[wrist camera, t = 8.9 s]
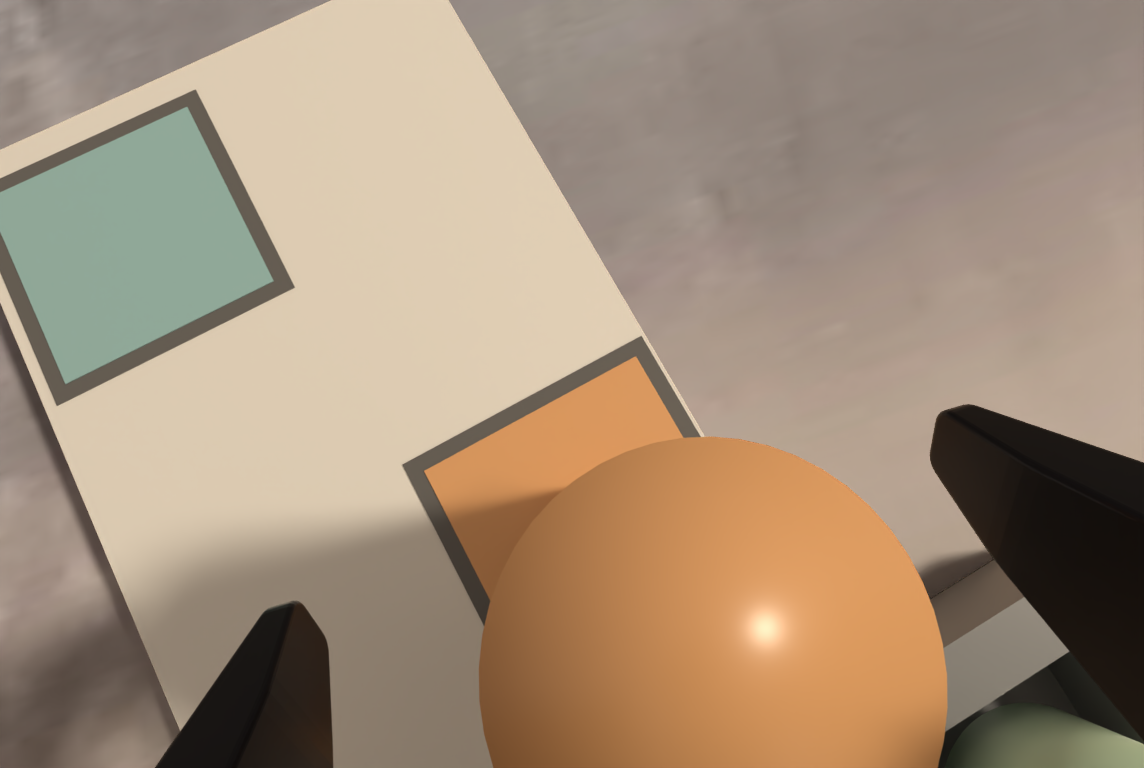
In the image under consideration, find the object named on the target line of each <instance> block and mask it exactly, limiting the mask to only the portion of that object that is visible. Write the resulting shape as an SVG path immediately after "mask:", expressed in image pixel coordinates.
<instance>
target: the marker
mask: <svg viewBox="0 0 1144 768" xmlns="http://www.w3.org/2000/svg"><path fill="white" fill-rule="evenodd" d="M479 702H480V709H481V716H482V723H483V730H484V736H485V739H486V743H487V747H488V750H489V754H490V758H491V761H492V765H493V768H938V764H939V759H940V755H941V751H942V747H943V743H944V736H945V727H946V717H947V708H948V706H947V671H946V664H945V657H944V650H943V643H942V639H941V635H940V631H939V627H938V623H937V620H936V616H935V612H934V609H933V607H932V604H931V602H930V599H929V597H928V594H927V592H926V589H925V586H924V584H923V582H922V580H921V578H920V576H919V574H918V572H917V570H916V569H915V567H914V565H913V563H912V561H911V559H910V557H909V556H908V554H907V552H906V551H905V549H904V548H903V547H902V545H901V544H900V542H899V541H898V540H897V538H896V537H895V535H894V534H893V532H892V531H891V530H890V528H889V527H888V526H887V525H886V524H885V523H884V522H883V520H882V519H881V518H880V517H879V516H878V515H877V514H876V513H875V511H874V510H873V509H872V508H871V507H870V506H869V505H868V504H867V503H866V502H864V501H863V500H862V499H861V498H860V497H859V496H858V495H856V494H855V493H854V492H853V491H852V490H851V489H850V488H848V487H847V486H846V485H845V484H843V483H842V482H840V481H839V480H837V479H836V478H834V477H833V476H831V475H830V474H828V473H827V472H826V471H824V470H823V469H821V468H819V467H817V466H815V465H813V464H811V463H809V462H807V461H805V460H803V459H801V458H799V457H797V456H795V455H793V454H790V453H787V452H784V451H782V450H779V449H776V448H773V447H771V446H768V445H763V444H759V443H754V442H750V441H745V440H741V439H732V438H720V437H690V438H678V439H673V440H667V441H661V442H656V443H652V444H648V445H645V446H642V447H639V448H636V449H633V450H630V451H626V452H624V453H622V454H620V455H618V456H616V457H614V458H611V459H609V460H607V461H605V462H603V463H601V464H599V465H597V466H596V467H594V468H593V469H591V470H590V471H588V472H587V473H585V474H584V475H582V476H580V477H579V478H577V479H576V480H574V481H573V482H572V483H571V484H570V485H569V486H567V487H566V488H565V489H564V490H563V491H562V492H560V493H559V494H558V495H557V496H556V497H554V498H553V499H552V500H551V501H550V502H549V504H548V505H547V506H546V507H545V508H544V509H543V510H542V511H541V512H540V514H539V515H538V516H537V517H536V518H535V519H534V520H533V521H532V523H531V524H530V526H529V527H528V528H527V530H526V531H525V533H524V534H523V536H522V537H521V538H520V540H519V541H518V543H517V544H516V546H515V547H514V549H513V551H512V553H511V555H510V557H509V559H508V561H507V563H506V565H505V567H504V568H503V570H502V572H501V574H500V577H499V580H498V582H497V585H496V588H495V590H494V593H493V596H492V599H491V601H490V604H489V608H488V613H487V617H486V621H485V625H484V630H483V634H482V642H481V651H480V661H479Z"/></svg>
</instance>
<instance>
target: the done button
mask: <svg viewBox="0 0 1144 768" xmlns="http://www.w3.org/2000/svg"><path fill="white" fill-rule="evenodd" d="M945 768H1144V744H1142V743H1140V742H1138V741H1135V740H1133V739H1130V738H1128V737H1125V736H1123V735H1121V734H1118V733H1116V732H1113V731H1111V730H1108V729H1106V728H1104V727H1101V726H1099V725H1096V724H1094V723H1091V722H1089V721H1087V720H1084V719H1082V718H1079V717H1077V716H1074V715H1072V714H1070V713H1067V712H1065V711H1062V710H1060V709H1057V708H1054V707H1051V706H1047V705H1043V704H1038V703H1027V702H1026V703H1013V704H1008V705H1003V706H1000V707H997V708H995V709H992V710H990V711H988V712H986V713H984V714H983V715H981V716H980V717H978V718H977V719H976V720H974V721H973V722H972V723H971V724H970V725H969V726H968V727H967V728H966V729H965V730H964V731H963V732H962V733H961V735H960V736H959V738H958V739H957V740H956V742H955V744H954V745H953V747H952V749H951V751H950V753H949V756H948V759H947V761H946V764H945Z"/></svg>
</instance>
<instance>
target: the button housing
mask: <svg viewBox="0 0 1144 768" xmlns="http://www.w3.org/2000/svg"><path fill="white" fill-rule="evenodd" d="M930 602H931V604H932V607H933V609H934V612H935V616H936V620H937V623H938V627H939V631H940V635H941V639H942V643H943V650H944V657H945V664H946V671H947V706H948V708H947V717H946V727H945V736H944V743H943V747H942V751H941V755H940V759H939V764H938V768H945V764H946V761H947V759H948V756H949V753H950V751H951V749H952V747H953V745H954V744H955V742H956V740H957V739H958V738H959V736H960V735H961V733H962V732H963V731H964V730H965V729H966V728H967V727H968V726H969V725H970V724H971V723H972V722H973V721H974V720H976V719H977V718H978V717H980V716H981V715H983V714H984V713H986V712H988V711H990V710H992V709H995V708H997V707H1000V706H1003V705H1008V704H1013V703H1026V702H1027V703H1038V704H1043V705H1047V706H1051V707H1054V708H1057V709H1060V710H1062V711H1065V712H1067V713H1070V714H1072V715H1074V716H1077V717H1079V718H1082V719H1084V720H1087V721H1089V722H1091V723H1094V724H1096V725H1099V726H1101V727H1104V728H1106V729H1108V730H1111V731H1113V732H1116V733H1118V734H1121V735H1123V736H1125V737H1128V738H1130V739H1133V740H1135V741H1138V742H1140V743H1142V744H1144V741H1143V740H1142V739H1141V738H1140V736H1139V735H1138V734H1137V733H1136V731H1135V730H1134V729H1133V728H1132V727H1131V725H1130V724H1129V723H1128V722H1127V721H1126V719H1125V718H1124V717H1123V716H1122V715H1121V713H1120V712H1119V711H1118V710H1117V708H1116V707H1115V706H1114V705H1113V704H1112V702H1111V701H1110V700H1109V699H1108V698H1107V696H1106V695H1105V694H1104V693H1103V692H1102V690H1101V689H1100V688H1099V687H1098V686H1097V684H1096V683H1095V682H1094V681H1093V679H1092V678H1091V677H1090V676H1089V675H1088V673H1087V672H1086V671H1085V670H1084V669H1083V667H1082V666H1081V665H1080V664H1079V663H1078V661H1077V660H1076V659H1075V658H1074V656H1073V655H1072V654H1071V653H1070V652H1069V650H1068V649H1067V648H1066V647H1065V646H1064V644H1063V643H1062V642H1061V641H1060V640H1059V638H1058V637H1057V636H1056V635H1055V633H1054V632H1053V631H1052V630H1051V629H1050V627H1049V626H1048V625H1047V624H1046V623H1045V621H1044V620H1043V619H1042V618H1041V617H1040V615H1039V614H1038V613H1037V612H1036V610H1035V609H1034V608H1033V607H1032V606H1031V604H1030V603H1029V602H1028V601H1027V600H1026V598H1025V597H1024V596H1023V595H1022V594H1021V592H1020V591H1019V590H1018V589H1017V587H1016V586H1015V585H1014V584H1013V583H1012V581H1011V580H1010V579H1009V578H1008V577H1007V575H1006V574H1005V573H1004V572H1003V570H1002V569H1001V568H1000V566H999V565H998V564H997V563H996V561H995V560H993V561H991V562H990V563H988V564H986V565H985V566H983V567H982V568H980V569H978V570H977V571H975V572H974V573H972V574H970V575H969V576H967V577H966V578H964V579H962V580H961V581H959V582H957V583H956V584H954V585H953V586H951V587H949V588H948V589H946V590H945V591H943V592H941V593H940V594H938V595H936V596H935V597H933V598H932V599H930Z"/></svg>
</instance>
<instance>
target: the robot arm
mask: <svg viewBox="0 0 1144 768" xmlns="http://www.w3.org/2000/svg"><path fill="white" fill-rule="evenodd" d="M930 461H931V464H932V467H933V469H934V471H935V473H936V474H937V476H938V477H939V479H940V480H941V482H942V483H943V485H944V486H945V488H946V489H947V491H948V492H949V494H950V495H951V497H952V498H953V500H954V501H955V503H956V504H957V506H958V507H959V509H960V510H961V512H962V513H963V515H964V516H965V518H966V519H967V521H968V522H969V524H970V525H971V527H972V528H973V530H974V531H975V533H976V534H977V536H978V537H979V539H980V540H981V542H982V543H983V545H984V546H985V547H986V549H987V550H988V552H989V553H990V554H991V556H992V557H993V559H994V560H995V561H996V563H997V564H998V565H999V566H1000V568H1001V569H1002V570H1003V572H1004V573H1005V574H1006V575H1007V577H1008V578H1009V579H1010V580H1011V581H1012V583H1013V584H1014V585H1015V586H1016V587H1017V589H1018V590H1019V591H1020V592H1021V594H1022V595H1023V596H1024V597H1025V598H1026V600H1027V601H1028V602H1029V603H1030V604H1031V606H1032V607H1033V608H1034V609H1035V610H1036V612H1037V613H1038V614H1039V615H1040V617H1041V618H1042V619H1043V620H1044V621H1045V623H1046V624H1047V625H1048V626H1049V627H1050V629H1051V630H1052V631H1053V632H1054V633H1055V635H1056V636H1057V637H1058V638H1059V640H1060V641H1061V642H1062V643H1063V644H1064V646H1065V647H1066V648H1067V649H1068V650H1069V652H1070V653H1071V654H1072V655H1073V656H1074V658H1075V659H1076V660H1077V661H1078V663H1079V664H1080V665H1081V666H1082V667H1083V669H1084V670H1085V671H1086V672H1087V673H1088V675H1089V676H1090V677H1091V678H1092V679H1093V681H1094V682H1095V683H1096V684H1097V686H1098V687H1099V688H1100V689H1101V690H1102V692H1103V693H1104V694H1105V695H1106V696H1107V698H1108V699H1109V700H1110V701H1111V702H1112V704H1113V705H1114V706H1115V707H1116V708H1117V710H1118V711H1119V712H1120V713H1121V715H1122V716H1123V717H1124V718H1125V719H1126V721H1127V722H1128V723H1129V724H1130V725H1131V727H1132V728H1133V729H1134V730H1135V731H1136V733H1137V734H1138V735H1139V736H1140V738H1141V739H1142V740H1143V741H1144V463H1143V462H1140V461H1138V460H1135V459H1132V458H1129V457H1126V456H1123V455H1120V454H1117V453H1114V452H1111V451H1108V450H1105V449H1102V448H1099V447H1096V446H1093V445H1090V444H1087V443H1084V442H1081V441H1079V440H1076V439H1073V438H1070V437H1067V436H1064V435H1061V434H1058V433H1055V432H1052V431H1049V430H1046V429H1043V428H1040V427H1037V426H1034V425H1031V424H1028V423H1025V422H1023V421H1020V420H1017V419H1014V418H1011V417H1008V416H1005V415H1002V414H999V413H996V412H993V411H990V410H987V409H984V408H981V407H978V406H975V405H970V404H967V405H961V406H958V407H954V408H951V409H947V410H944V411H942V412H940V414H939V415H938V416H937V418H936V423H935V428H934V433H933V439H932V444H931V450H930ZM155 768H333V735H332V712H331V689H330V666H329V649H328V644H327V640H326V638H325V635H324V634H323V632H322V630H321V629H320V628H319V626H318V625H317V623H316V622H315V620H314V619H313V617H312V616H311V615H310V613H309V612H308V610H307V609H306V607H305V606H304V605H303V604H302V603H301V602H299V601H297V600H296V601H290V602H286V603H283V604H279V605H276V606H273V607H270V608H268V609H266V610H265V611H264V612H263V613H262V614H261V616H260V617H259V618H258V620H257V621H256V623H255V624H254V626H253V627H252V628H251V630H250V631H249V633H248V634H247V636H246V637H245V639H244V640H243V641H242V643H241V644H240V646H239V647H238V649H237V650H236V652H235V653H234V654H233V656H232V657H231V659H230V660H229V662H228V663H227V665H226V666H225V667H224V669H223V670H222V672H221V673H220V675H219V676H218V678H217V679H216V680H215V682H214V683H213V685H212V686H211V688H210V689H209V690H208V692H207V693H206V695H205V696H204V698H203V699H202V701H201V702H200V703H199V705H198V706H197V708H196V709H195V711H194V712H193V714H192V715H191V716H190V718H189V719H188V721H187V722H186V724H185V725H184V727H183V728H182V729H181V731H180V732H179V734H178V735H177V737H176V738H175V739H174V741H173V742H172V744H171V745H170V747H169V748H168V750H167V751H166V752H165V754H164V755H163V757H162V758H161V760H160V761H159V763H158V764H157V765H156V767H155Z"/></svg>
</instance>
